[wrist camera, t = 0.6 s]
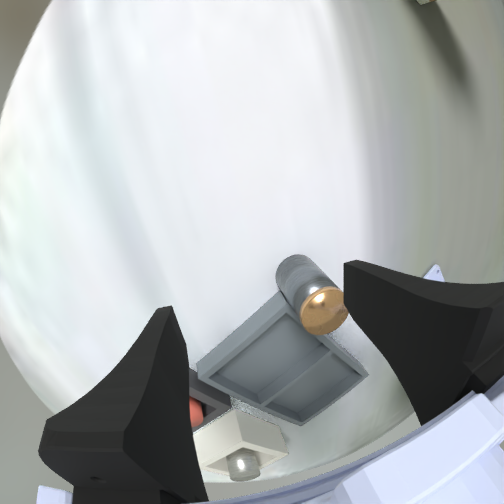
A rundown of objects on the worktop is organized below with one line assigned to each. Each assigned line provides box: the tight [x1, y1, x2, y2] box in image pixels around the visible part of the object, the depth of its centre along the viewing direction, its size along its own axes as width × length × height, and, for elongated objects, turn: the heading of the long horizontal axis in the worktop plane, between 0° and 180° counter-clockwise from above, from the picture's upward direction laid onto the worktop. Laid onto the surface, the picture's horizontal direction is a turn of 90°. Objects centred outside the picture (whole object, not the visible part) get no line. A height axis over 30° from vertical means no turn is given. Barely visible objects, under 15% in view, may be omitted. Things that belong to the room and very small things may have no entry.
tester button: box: [189, 396, 203, 427], centre depth 23 cm, size 3×3×2 cm
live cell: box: [276, 255, 349, 335], centre depth 20 cm, size 3×3×6 cm
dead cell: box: [226, 447, 260, 481], centre depth 27 cm, size 3×3×6 cm
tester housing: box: [189, 368, 232, 432], centre depth 25 cm, size 6×6×2 cm
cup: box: [193, 408, 289, 476], centre depth 28 cm, size 8×8×5 cm
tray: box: [197, 291, 369, 426], centre depth 26 cm, size 16×10×2 cm, turn 43°
